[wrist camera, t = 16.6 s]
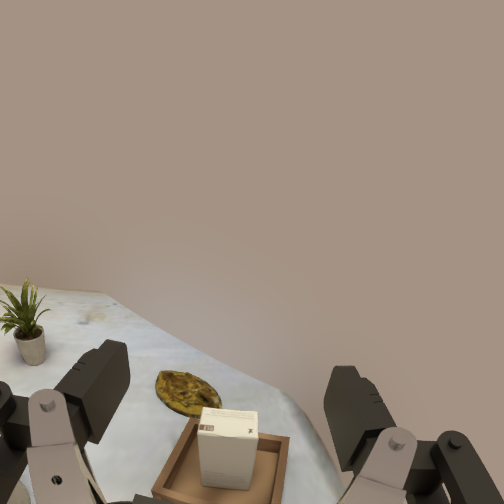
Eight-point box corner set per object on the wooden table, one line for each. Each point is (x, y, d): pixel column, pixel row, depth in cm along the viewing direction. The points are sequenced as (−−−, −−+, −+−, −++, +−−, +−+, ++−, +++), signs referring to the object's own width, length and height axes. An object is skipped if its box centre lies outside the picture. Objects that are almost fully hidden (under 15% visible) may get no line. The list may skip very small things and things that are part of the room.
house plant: (8, 340, 45) (-6, 271, 41) (60, 336, 53) (50, 267, 49) (2, 377, 34) (-21, 297, 30) (64, 372, 42) (47, 292, 38)
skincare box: (249, 467, 30) (260, 408, 28) (249, 492, 26) (261, 438, 23) (203, 462, 30) (202, 402, 27) (199, 488, 26) (196, 432, 23)
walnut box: (155, 502, 23) (150, 490, 22) (191, 432, 36) (190, 417, 35) (272, 530, 21) (277, 521, 20) (285, 451, 34) (289, 437, 33)
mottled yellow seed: (141, 390, 45) (202, 435, 37) (136, 371, 44) (199, 417, 36) (177, 367, 53) (238, 402, 45) (174, 348, 51) (238, 384, 43)
